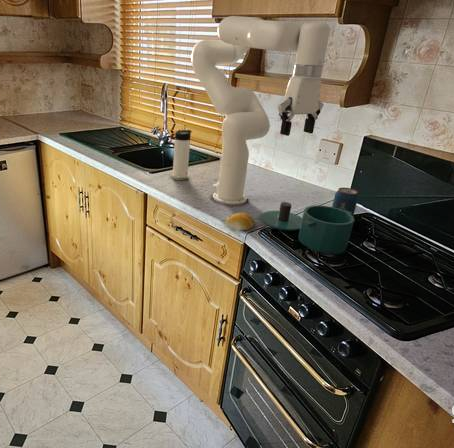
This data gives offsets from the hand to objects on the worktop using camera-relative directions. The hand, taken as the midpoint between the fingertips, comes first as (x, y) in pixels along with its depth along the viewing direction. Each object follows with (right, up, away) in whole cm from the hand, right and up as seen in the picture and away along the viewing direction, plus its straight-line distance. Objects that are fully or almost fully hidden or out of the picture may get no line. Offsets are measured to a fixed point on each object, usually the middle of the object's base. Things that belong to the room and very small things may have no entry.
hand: (296, 133), depth 119 cm
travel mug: (-32, -8, +51) cm, 61 cm away
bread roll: (-15, -28, +10) cm, 33 cm away
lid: (0, -26, +14) cm, 29 cm away
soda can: (+19, -27, +15) cm, 36 cm away
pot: (+8, -33, +2) cm, 34 cm away
